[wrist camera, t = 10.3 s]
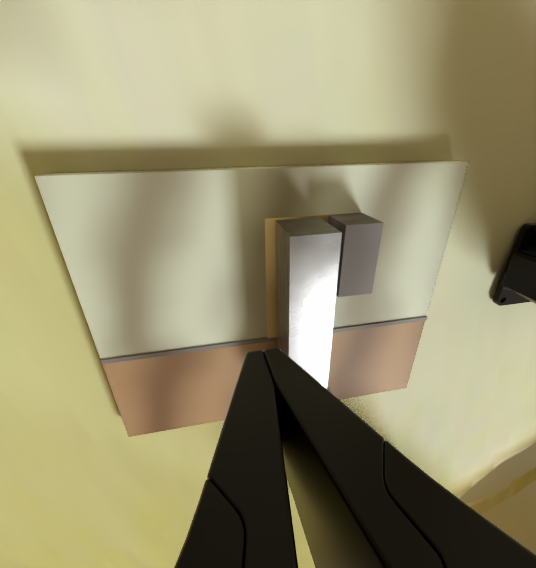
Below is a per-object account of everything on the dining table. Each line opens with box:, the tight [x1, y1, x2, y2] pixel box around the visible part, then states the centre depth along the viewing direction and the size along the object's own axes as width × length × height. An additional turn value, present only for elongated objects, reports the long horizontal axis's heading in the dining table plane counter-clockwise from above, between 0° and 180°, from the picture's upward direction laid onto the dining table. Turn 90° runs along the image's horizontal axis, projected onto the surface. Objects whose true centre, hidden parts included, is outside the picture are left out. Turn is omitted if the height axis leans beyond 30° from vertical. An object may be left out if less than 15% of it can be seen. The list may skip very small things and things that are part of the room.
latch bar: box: [275, 217, 342, 394], centre depth 16 cm, size 13×4×4 cm, turn 2°
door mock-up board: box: [34, 161, 469, 437], centre depth 18 cm, size 22×18×4 cm
